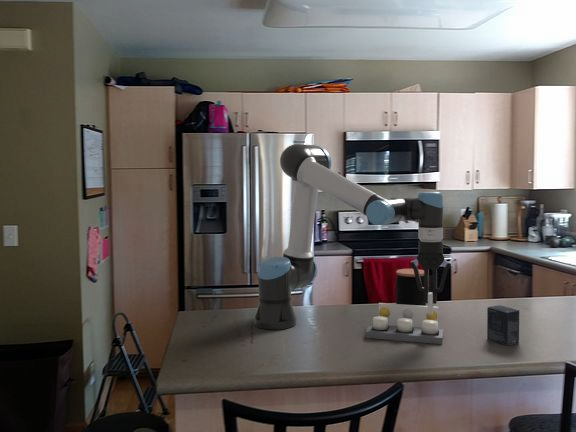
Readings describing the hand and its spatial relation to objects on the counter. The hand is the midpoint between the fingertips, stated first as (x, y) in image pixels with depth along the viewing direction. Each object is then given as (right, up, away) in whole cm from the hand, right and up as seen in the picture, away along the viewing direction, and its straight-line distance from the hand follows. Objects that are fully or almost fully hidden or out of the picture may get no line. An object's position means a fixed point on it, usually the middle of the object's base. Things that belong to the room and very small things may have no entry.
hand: (430, 313), depth 166 cm
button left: (-15, -6, +6) cm, 17 cm away
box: (+22, -9, -3) cm, 24 cm away
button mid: (-8, -6, +3) cm, 10 cm away
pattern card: (-4, -8, +13) cm, 15 cm away
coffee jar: (-1, -7, +22) cm, 23 cm away
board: (-8, -8, +3) cm, 12 cm away
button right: (0, -6, +1) cm, 6 cm away
